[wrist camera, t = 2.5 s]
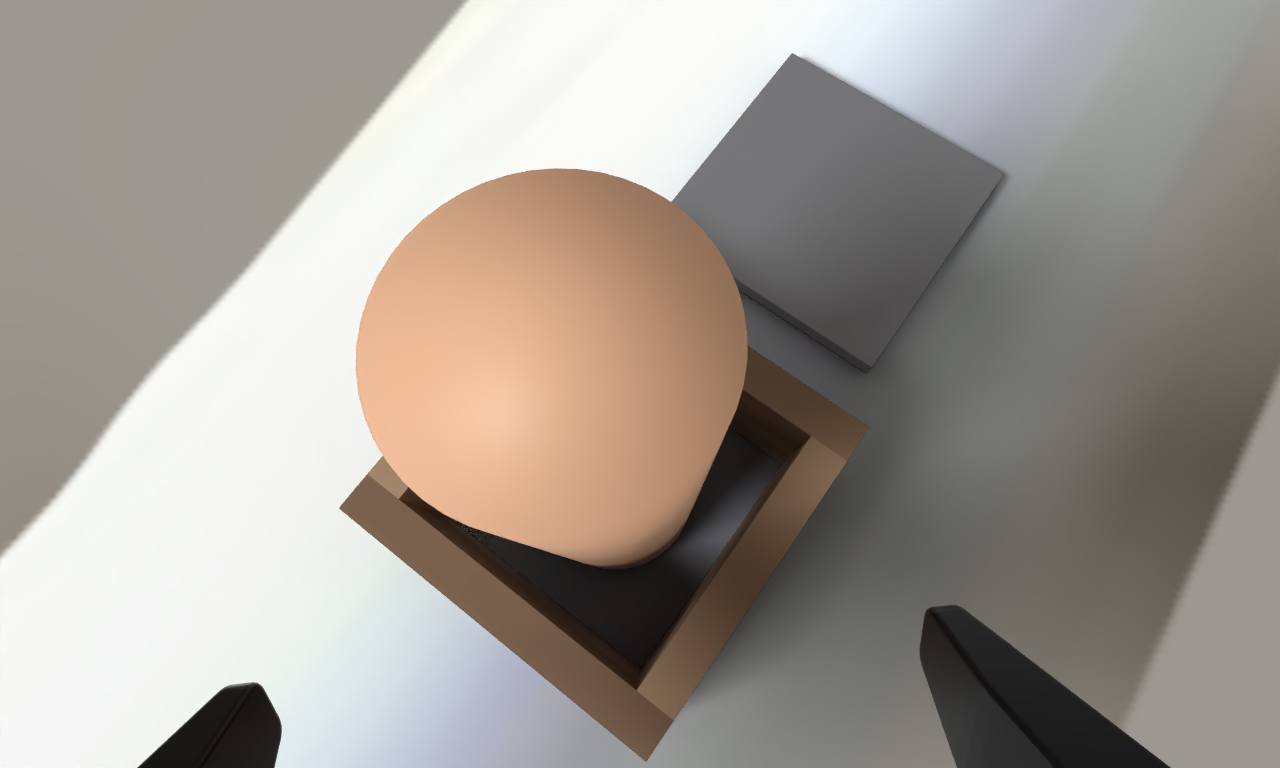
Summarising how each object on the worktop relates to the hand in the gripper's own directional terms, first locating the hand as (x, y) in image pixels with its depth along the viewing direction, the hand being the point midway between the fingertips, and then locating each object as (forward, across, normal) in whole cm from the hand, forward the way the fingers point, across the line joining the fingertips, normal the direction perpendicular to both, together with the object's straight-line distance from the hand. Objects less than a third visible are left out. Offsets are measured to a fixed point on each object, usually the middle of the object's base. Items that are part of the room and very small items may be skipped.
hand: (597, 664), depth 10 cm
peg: (+10, 0, +5) cm, 11 cm away
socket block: (+10, 0, +5) cm, 11 cm away
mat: (+16, -8, -1) cm, 18 cm away
